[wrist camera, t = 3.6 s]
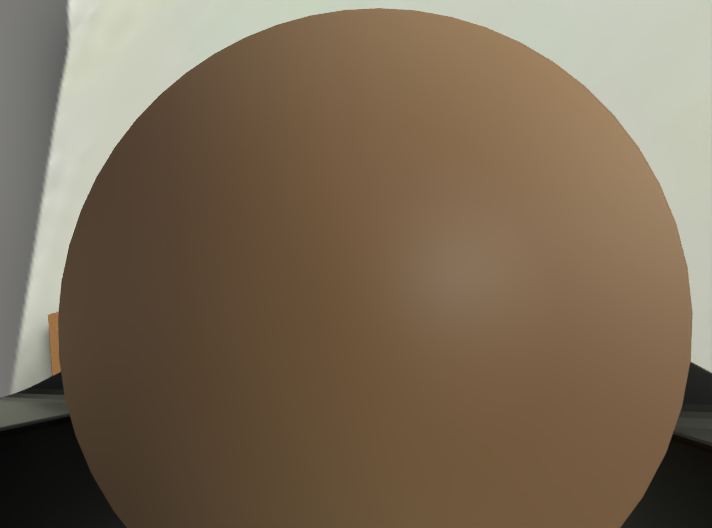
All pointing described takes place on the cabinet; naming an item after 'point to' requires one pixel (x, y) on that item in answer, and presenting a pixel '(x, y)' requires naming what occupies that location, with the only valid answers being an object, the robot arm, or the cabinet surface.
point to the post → (375, 291)
